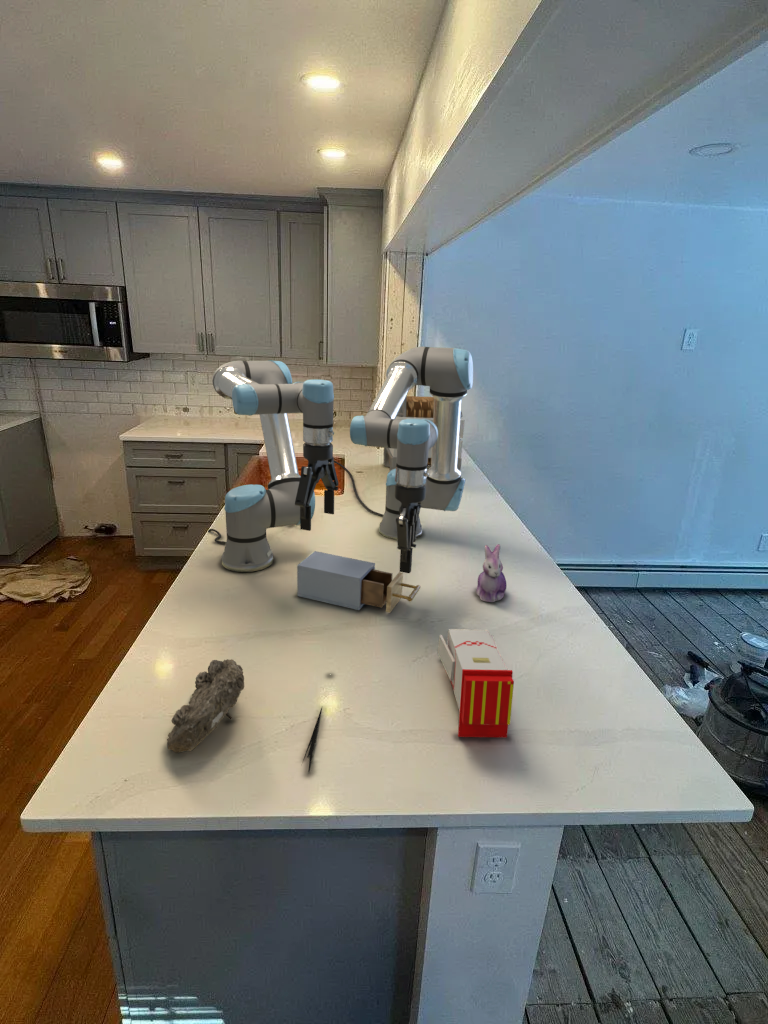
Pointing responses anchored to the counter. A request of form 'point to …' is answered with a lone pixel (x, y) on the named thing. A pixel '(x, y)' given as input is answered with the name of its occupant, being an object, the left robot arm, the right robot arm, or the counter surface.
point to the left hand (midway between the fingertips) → (317, 521)
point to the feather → (313, 740)
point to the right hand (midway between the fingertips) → (405, 571)
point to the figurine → (491, 577)
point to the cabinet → (332, 579)
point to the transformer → (419, 410)
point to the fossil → (206, 705)
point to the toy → (478, 682)
